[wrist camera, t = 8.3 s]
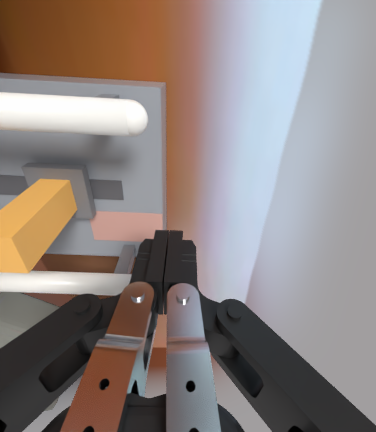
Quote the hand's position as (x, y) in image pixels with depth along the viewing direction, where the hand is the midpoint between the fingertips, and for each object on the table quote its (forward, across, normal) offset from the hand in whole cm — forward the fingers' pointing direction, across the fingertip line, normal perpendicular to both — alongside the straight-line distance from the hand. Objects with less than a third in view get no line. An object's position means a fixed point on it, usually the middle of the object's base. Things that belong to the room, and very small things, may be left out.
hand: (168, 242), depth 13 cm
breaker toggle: (+5, +8, 0) cm, 10 cm away
